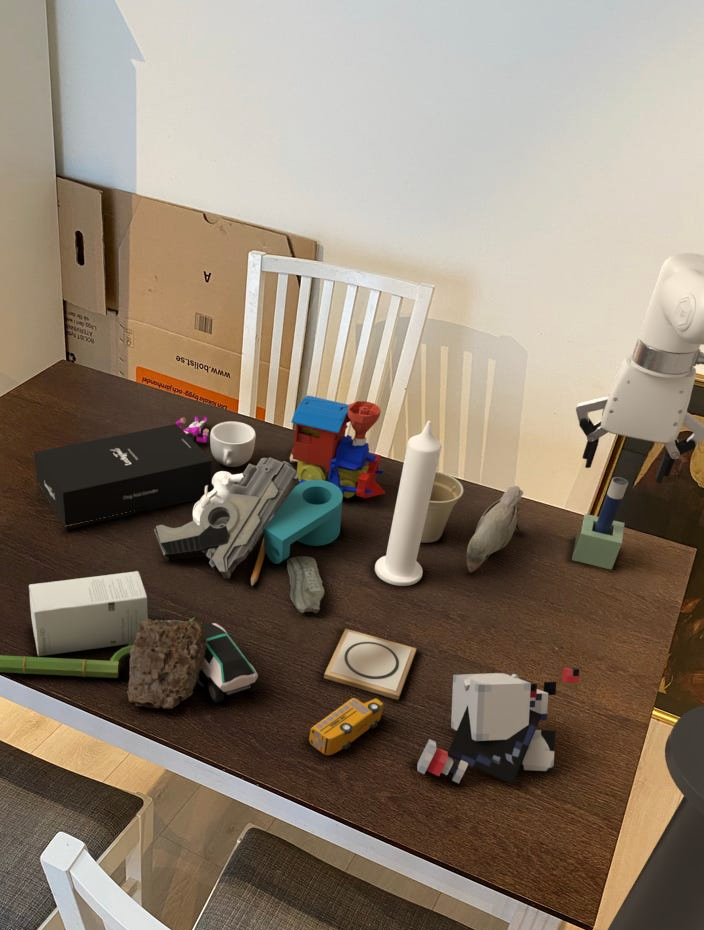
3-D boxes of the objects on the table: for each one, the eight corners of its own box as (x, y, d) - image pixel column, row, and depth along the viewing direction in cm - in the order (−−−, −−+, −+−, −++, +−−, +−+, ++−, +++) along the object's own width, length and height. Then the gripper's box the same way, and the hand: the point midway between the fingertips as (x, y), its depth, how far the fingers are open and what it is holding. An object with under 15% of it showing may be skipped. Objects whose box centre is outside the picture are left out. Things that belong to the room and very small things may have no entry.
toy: (474, 622, 117) (589, 672, 115) (416, 744, 120) (526, 794, 118) (482, 636, 105) (610, 692, 103) (417, 771, 108) (539, 827, 107)
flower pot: (417, 509, 154) (427, 462, 148) (463, 534, 149) (476, 488, 143) (380, 529, 149) (388, 482, 143) (427, 556, 144) (437, 509, 138)
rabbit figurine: (220, 500, 153) (222, 447, 147) (260, 514, 150) (265, 461, 144) (180, 534, 145) (181, 480, 139) (222, 551, 142) (225, 496, 136)
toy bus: (386, 703, 115) (362, 687, 117) (334, 742, 109) (310, 725, 112) (383, 721, 117) (359, 706, 119) (332, 761, 112) (308, 744, 114)
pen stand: (614, 549, 148) (624, 522, 144) (611, 570, 143) (622, 543, 140) (575, 539, 149) (584, 513, 146) (571, 560, 145) (581, 533, 142)
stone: (328, 603, 130) (293, 607, 130) (328, 615, 131) (293, 618, 131) (315, 554, 140) (282, 557, 140) (315, 565, 141) (282, 569, 141)
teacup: (215, 446, 166) (216, 418, 162) (257, 452, 165) (259, 425, 161) (201, 474, 159) (202, 446, 155) (246, 481, 158) (248, 453, 154)
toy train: (303, 462, 163) (312, 381, 153) (392, 483, 159) (407, 402, 149) (283, 490, 156) (292, 408, 146) (376, 514, 152) (391, 430, 142)
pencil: (272, 519, 150) (250, 590, 136) (269, 514, 150) (247, 584, 136) (277, 517, 150) (256, 588, 136) (275, 512, 149) (253, 583, 135)
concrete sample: (201, 613, 114) (207, 615, 120) (120, 618, 116) (129, 620, 121) (206, 707, 114) (211, 705, 119) (125, 711, 115) (133, 709, 120)
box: (65, 530, 144) (62, 492, 140) (37, 488, 153) (33, 451, 149) (211, 496, 154) (212, 460, 149) (176, 458, 163) (176, 423, 158)
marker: (601, 552, 147) (628, 479, 138) (599, 560, 145) (627, 486, 137) (586, 548, 148) (612, 475, 139) (584, 556, 146) (611, 483, 137)
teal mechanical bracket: (353, 495, 142) (316, 473, 146) (282, 540, 136) (245, 516, 140) (350, 529, 147) (314, 507, 151) (281, 574, 140) (246, 549, 144)
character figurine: (187, 427, 173) (164, 450, 163) (189, 400, 170) (166, 422, 160) (216, 433, 172) (195, 457, 162) (219, 407, 169) (198, 430, 159)
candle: (421, 589, 138) (457, 437, 121) (373, 583, 138) (402, 430, 122) (421, 561, 143) (455, 411, 126) (375, 555, 144) (403, 405, 127)
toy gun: (142, 542, 139) (225, 585, 134) (216, 428, 142) (300, 465, 137) (149, 552, 142) (231, 594, 137) (221, 440, 145) (304, 477, 140)
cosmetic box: (149, 641, 126) (39, 662, 123) (139, 612, 130) (32, 631, 127) (148, 594, 120) (31, 614, 117) (137, 565, 125) (24, 584, 121)
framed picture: (415, 652, 127) (417, 647, 126) (398, 700, 120) (399, 694, 119) (344, 632, 129) (345, 627, 129) (323, 678, 122) (324, 672, 122)
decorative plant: (-39, 659, 115) (205, 671, 116) (-28, 604, 120) (207, 617, 121) (-31, 684, 120) (203, 696, 121) (-20, 631, 125) (205, 642, 126)
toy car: (217, 709, 117) (220, 678, 114) (177, 650, 125) (178, 620, 122) (259, 695, 119) (262, 665, 116) (217, 638, 127) (218, 608, 124)
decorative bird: (452, 567, 142) (462, 526, 137) (490, 520, 152) (501, 480, 148) (485, 580, 140) (497, 539, 135) (522, 531, 150) (534, 491, 145)
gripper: (733, 357, 123) (687, 472, 134) (597, 333, 128) (563, 447, 139) (735, 379, 118) (686, 497, 129) (593, 353, 122) (558, 469, 133)
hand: (623, 471), depth 134 cm, fingers open, 9 cm apart
